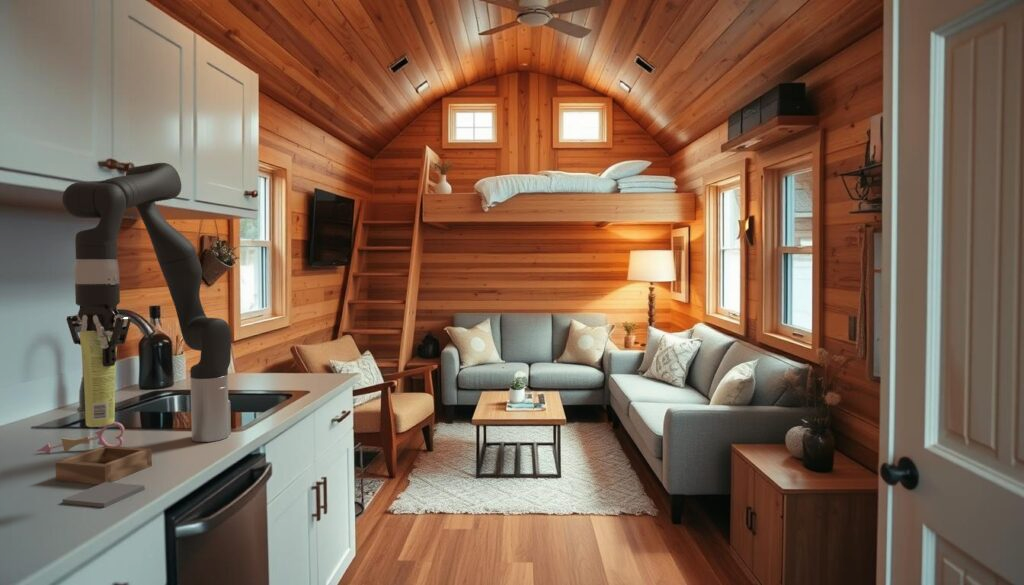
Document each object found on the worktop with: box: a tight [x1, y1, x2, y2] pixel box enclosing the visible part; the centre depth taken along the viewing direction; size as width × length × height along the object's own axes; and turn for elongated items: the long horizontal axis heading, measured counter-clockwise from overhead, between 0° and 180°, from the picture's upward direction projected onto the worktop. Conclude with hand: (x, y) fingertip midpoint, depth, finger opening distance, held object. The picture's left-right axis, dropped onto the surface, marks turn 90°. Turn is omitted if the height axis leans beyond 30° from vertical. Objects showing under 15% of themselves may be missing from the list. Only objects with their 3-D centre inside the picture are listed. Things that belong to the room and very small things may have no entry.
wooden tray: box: [54, 445, 153, 485], centre depth 141 cm, size 13×13×4 cm
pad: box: [61, 482, 145, 508], centre depth 127 cm, size 10×10×1 cm
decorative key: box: [35, 421, 125, 454], centre depth 158 cm, size 7×1×20 cm
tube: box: [78, 331, 118, 428], centre depth 126 cm, size 6×5×20 cm
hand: (99, 365), depth 126 cm, fingers closed on tube, 4 cm apart
